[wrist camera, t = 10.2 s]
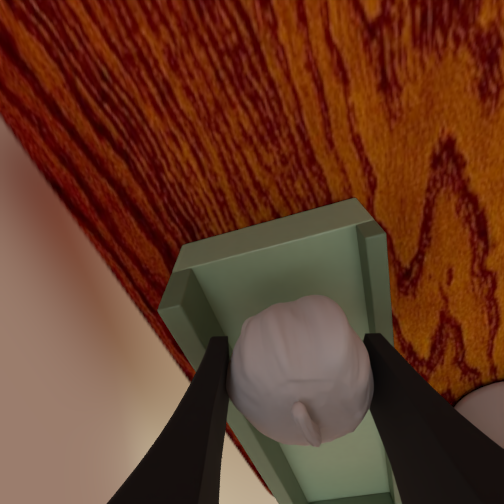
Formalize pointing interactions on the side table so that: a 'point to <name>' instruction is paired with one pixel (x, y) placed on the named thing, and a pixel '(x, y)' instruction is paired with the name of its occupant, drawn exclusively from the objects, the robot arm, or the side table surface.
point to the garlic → (301, 372)
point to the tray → (280, 291)
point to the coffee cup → (486, 410)
